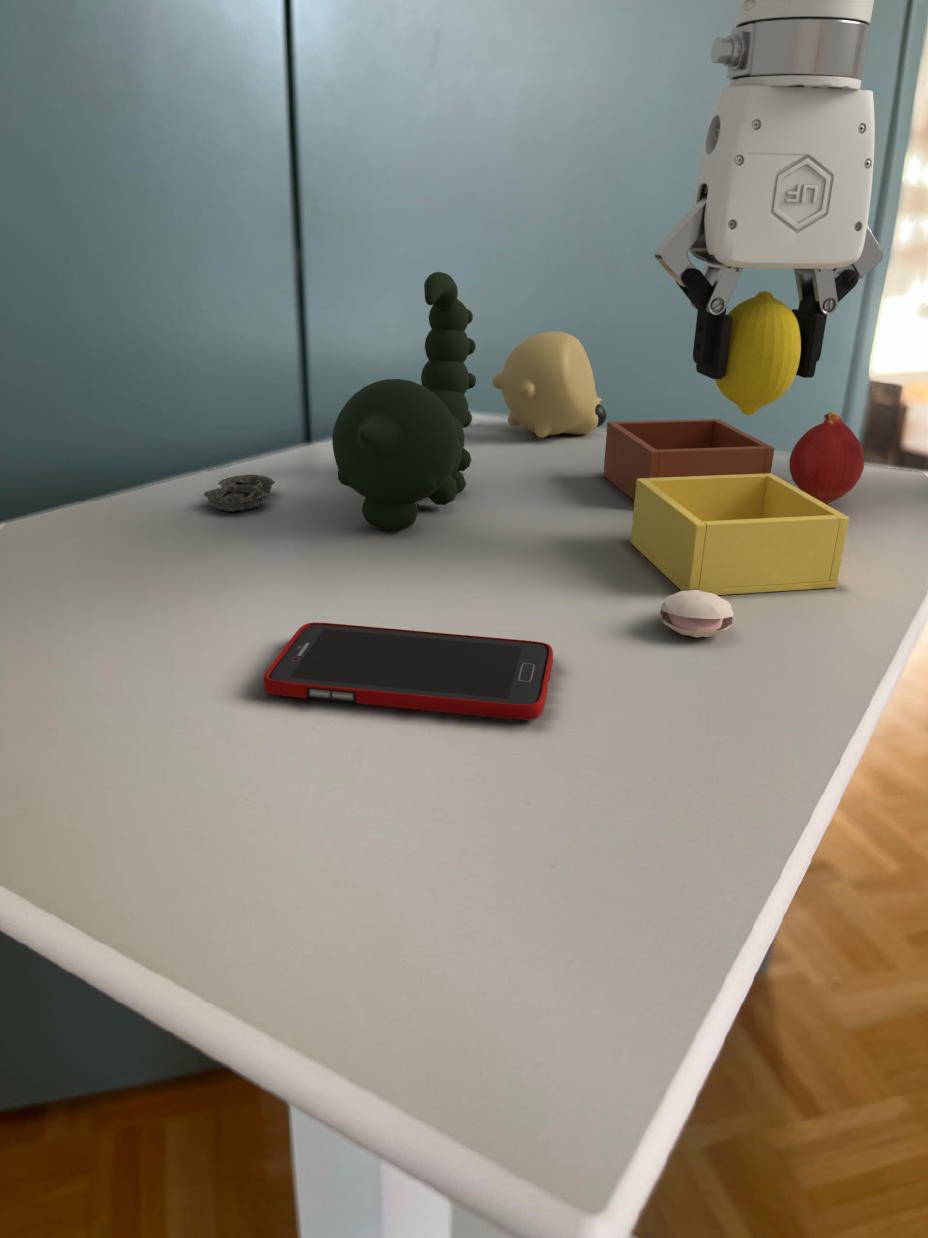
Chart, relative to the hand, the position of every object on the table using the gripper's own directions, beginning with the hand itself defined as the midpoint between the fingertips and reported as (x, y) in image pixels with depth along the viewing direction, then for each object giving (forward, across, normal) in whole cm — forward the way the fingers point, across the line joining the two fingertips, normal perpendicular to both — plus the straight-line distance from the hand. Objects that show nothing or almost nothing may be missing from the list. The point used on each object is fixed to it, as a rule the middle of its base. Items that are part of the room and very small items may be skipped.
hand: (754, 371), depth 66 cm
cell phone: (+14, -25, -14) cm, 32 cm away
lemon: (+3, 0, 0) cm, 3 cm away
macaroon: (+14, -7, -10) cm, 18 cm away
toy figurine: (+14, -20, +17) cm, 30 cm away
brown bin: (+14, +4, +18) cm, 23 cm away
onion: (+14, +14, +12) cm, 23 cm away
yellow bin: (+14, 0, 0) cm, 14 cm away
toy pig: (+14, -2, +40) cm, 42 cm away
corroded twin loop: (+14, -34, +20) cm, 42 cm away
